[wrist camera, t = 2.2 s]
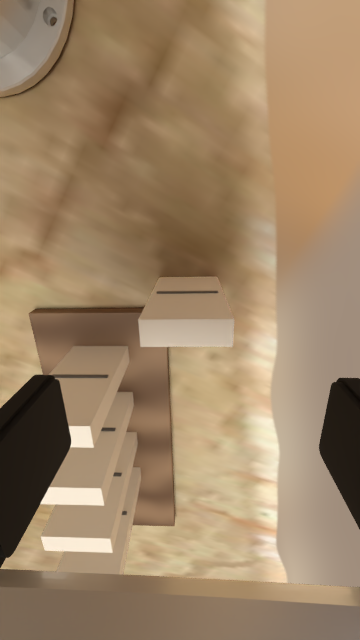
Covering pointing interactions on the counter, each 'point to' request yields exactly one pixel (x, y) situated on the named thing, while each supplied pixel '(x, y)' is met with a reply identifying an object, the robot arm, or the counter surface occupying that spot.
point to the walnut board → (140, 378)
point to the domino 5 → (186, 314)
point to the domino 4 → (117, 559)
